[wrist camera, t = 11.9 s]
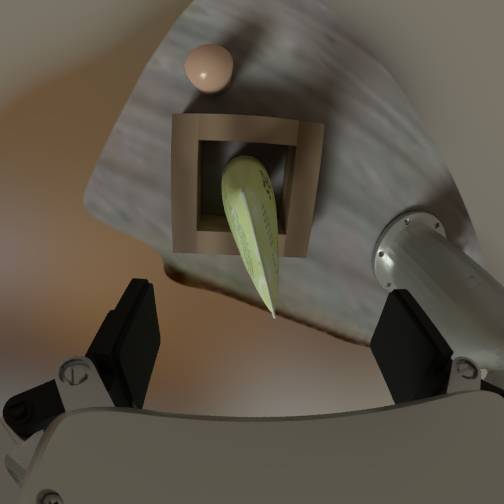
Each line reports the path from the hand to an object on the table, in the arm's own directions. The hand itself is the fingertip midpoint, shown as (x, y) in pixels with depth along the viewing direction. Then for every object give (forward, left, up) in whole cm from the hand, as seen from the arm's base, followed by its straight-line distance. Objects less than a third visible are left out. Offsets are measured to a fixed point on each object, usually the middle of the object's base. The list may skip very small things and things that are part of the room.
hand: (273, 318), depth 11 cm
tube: (0, 0, -24) cm, 24 cm away
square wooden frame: (+1, 0, -23) cm, 23 cm away
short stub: (+5, -11, -23) cm, 26 cm away
